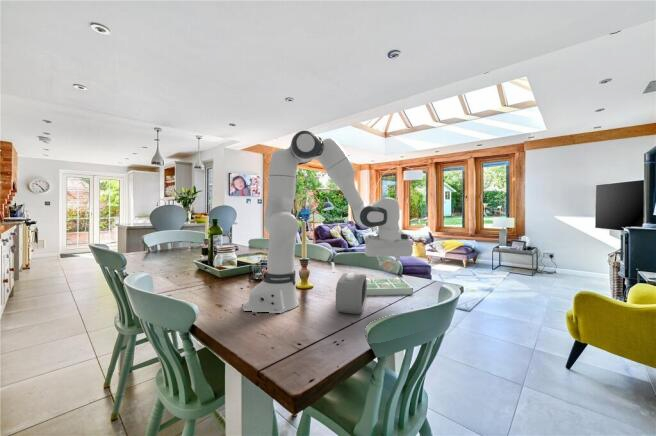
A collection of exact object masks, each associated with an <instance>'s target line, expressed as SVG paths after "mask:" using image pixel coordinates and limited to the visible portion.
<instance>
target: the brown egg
mask: <svg viewBox="0 0 656 436" xmlns="http://www.w3.org/2000/svg"><path fill="white" fill-rule="evenodd" d="M392 262H393V261H391V260H389V259H388V260H387V259H386V260H384V262H383V263H384V267H383V269H384V270H385V271H392V269H393V268H394V267H393V263H392Z"/></svg>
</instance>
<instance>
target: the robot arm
mask: <svg viewBox="0 0 656 436" xmlns="http://www.w3.org/2000/svg"><path fill="white" fill-rule="evenodd" d="M270 157H271V158H270V162H269V167H268V181H267V183H268V185H267V186H268V187H267V198H266V204H265V212H264V222H263V225H264V226H263V227H264V229H265V231H266V233H268V234H269V235H268V236H269V237H268V247H267V251H266V263H267V264H266V265H267V266H266V267H267V269H265V270H263V272H262V277H261V279H262V281H260V282H259V283H258V284H257V285H255V287H253V288H252V289H251V290H250V292H249V295H248V299H247V300H246V301H244V303H243V305H242V311H243V310H244V311H252V312H251V313H257V312H269V313H268V314H275V313H280V314H282V313H284V312H286V311H289V310H293V309H295V308H297V307H298V306H299V304H300V303H299V299H298V296H297V289H296V283H297V273H296V270H295V252H296V250H295V249H296V245H297V244H296V243H297V237H298V236H297V235H298V232H299V229H300V224H299V221H298V219H297V217H296V216H295V215H294V214H292V210H293V205H294V201H295V199H296V191H297V190H296V189H297V187H296V186H297V183H296V182H297V168H298V166H300V165H305V164H308V163H310V162H311V161H313V160H315V161H318V162H319V163H320V164H321V166H322V167H323V169H324V170H325V172H326V173H327V175H328V177H329V178H330V179H331V181H332V182H333V183H334V184H335V185H336V186H337V187H338V189H339V190H340V191H341V193H342V194H343V197H344V199H345V200H346V202H347V203H348V205H349V207H350V210H351V214H352V219H353V222H354V223H355V224H356V225H358V226H359V227H365V228H370V229H371V228H378V234H368V235H367V236H365V237H364V245H365V248H364V254H365V255H366V257H373V258H374V257H376V259H377V260H378V262H379V263H378V264H379V265H378V266H379V267H380V268H382V267H384V262H383V261H381V259H382V257H384V258H385V257H394V258H395V260H394V261H391V262H392V263H393V268H396V267H398V263H399V261H400V259H401V258H400V257H411V256H412V255H413V244H412V241H411V235H410V234H408V233H405V232H403V231H400V225H399V221H400V215H401V214H400V204H399V201H398V200H397V199H396V198H393V197H386V196H384V197H383V196H382V197H380V198H379V199H377V200H376V201H373V202H371V203H369V204H367V203H365V202H364V200H363V199H362V196H361V195H360V193H359V192H358V190H357V187H356V186H355V175H356V171H355V167H354V165H353V162H352V160H351V159H350V157H349V156H348V154H347V153H346V151H345V150H344V148H343V147H342V146H341V145H340V143H339V142H338V141H337V140H336V139H334V138H331V137H329V138H325V139H323V138H322V137H320V136H318V135H316V134H315V133H313V132H311V131H309V130H301V131H298V132H297V133H295V134H294V136H293V137H292V139H291V142H290V146H289V147H287V148H285V149H284V148H280V149H277V150H275V151H273V152H272V153H271V156H270ZM244 311H243V312H244Z"/></svg>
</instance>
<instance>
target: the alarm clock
mask: <svg viewBox="0 0 656 436" xmlns="http://www.w3.org/2000/svg"><path fill="white" fill-rule="evenodd" d="M367 278H368V277H367V275H366V274H364V273H363V274H362V273H356V272H348V273H346V272H345V273H343V274H341V276H340V277H339V279H338V280H337V282H336V288H335V308H336V309H335V310H336V311H338V312H340V313H344V314H357V315H361V314H362V312H363V311H364V307H365V306H366V305H365V304H366V300H367V295H366V294H367Z"/></svg>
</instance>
